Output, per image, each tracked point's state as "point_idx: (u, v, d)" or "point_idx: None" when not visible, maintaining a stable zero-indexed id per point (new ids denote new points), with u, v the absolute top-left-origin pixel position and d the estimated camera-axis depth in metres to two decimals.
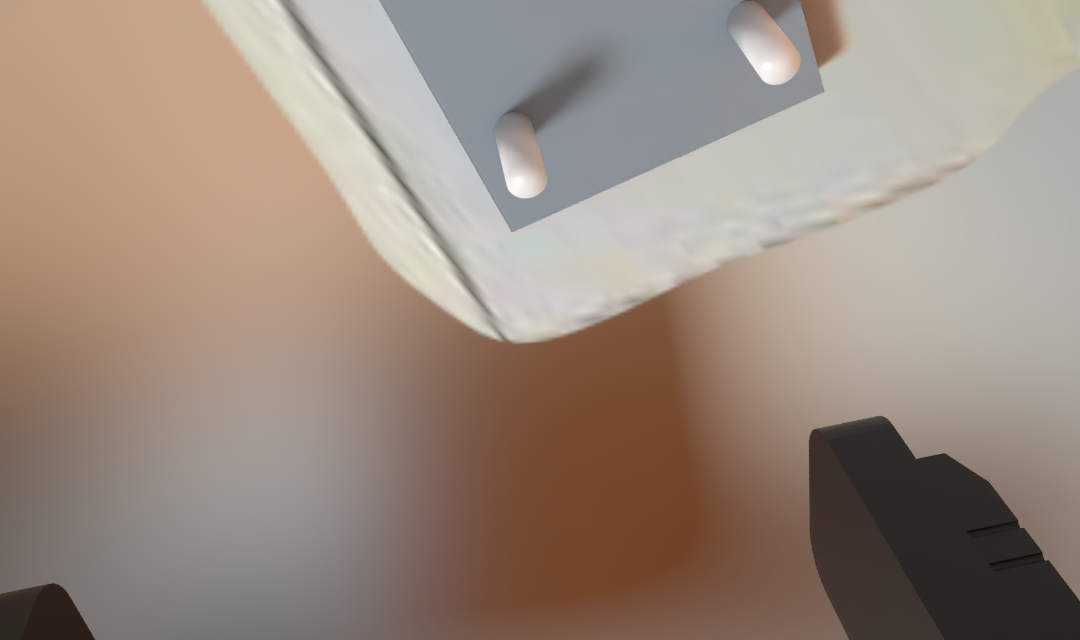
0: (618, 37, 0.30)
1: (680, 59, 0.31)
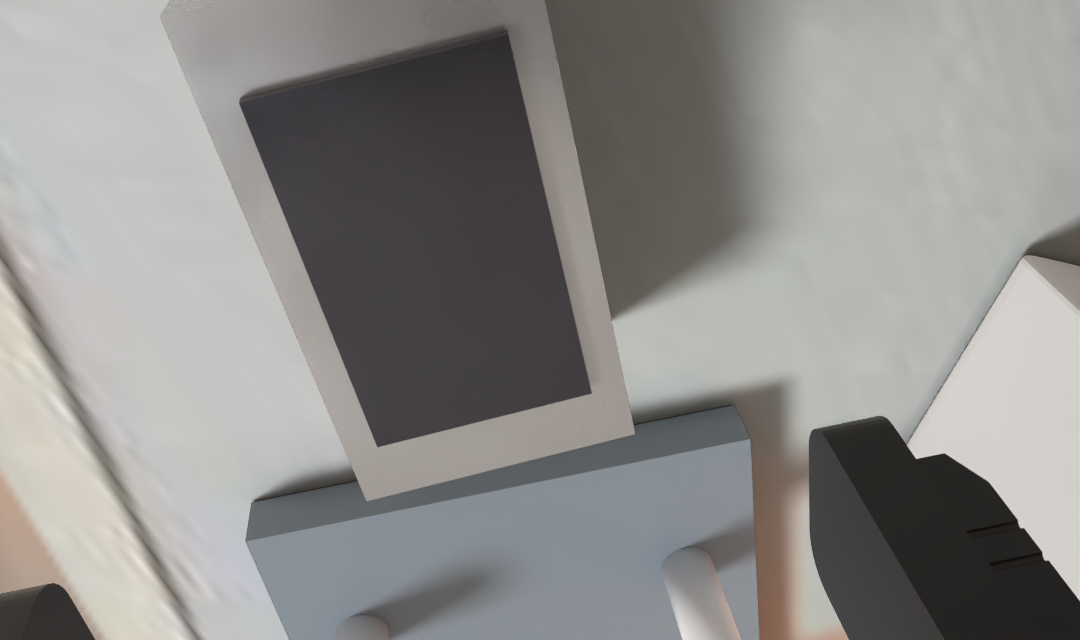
0: None
1: None
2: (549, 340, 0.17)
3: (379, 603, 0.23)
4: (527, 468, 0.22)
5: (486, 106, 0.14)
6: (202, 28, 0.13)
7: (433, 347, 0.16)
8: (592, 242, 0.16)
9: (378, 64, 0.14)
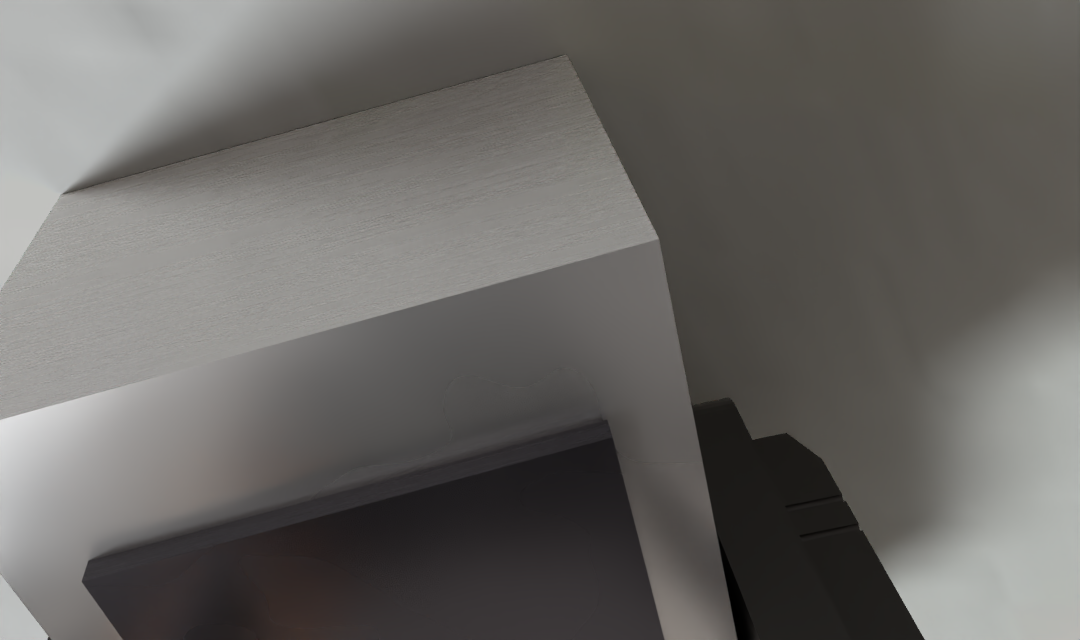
0: None
1: None
2: None
3: None
4: None
5: (566, 550, 0.07)
6: None
7: None
8: None
9: (354, 492, 0.07)
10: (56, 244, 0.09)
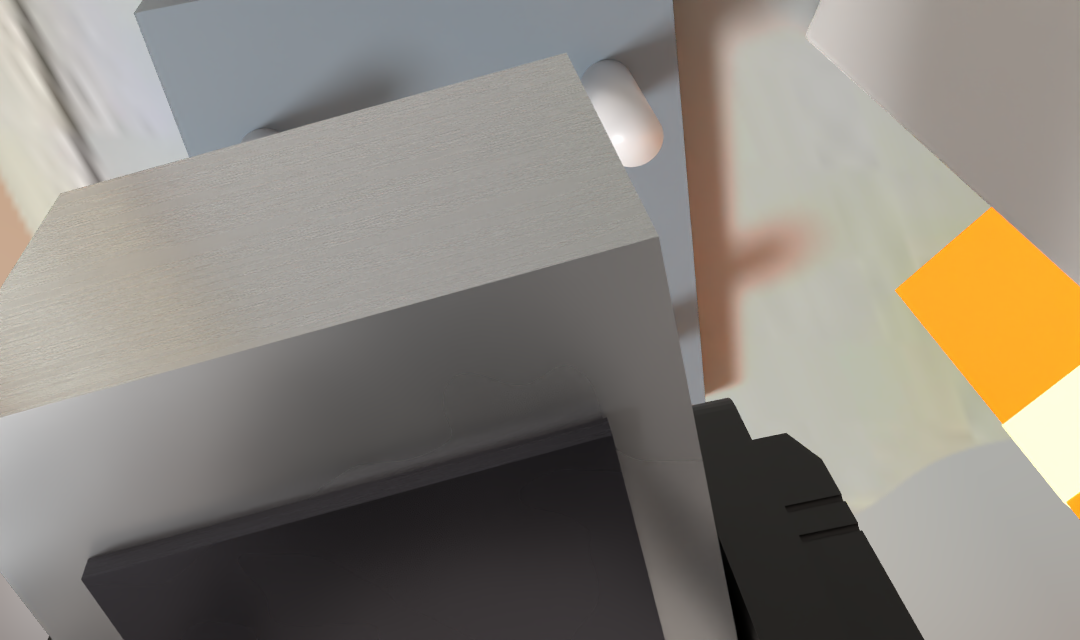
0: None
1: None
2: None
3: (282, 113, 0.22)
4: None
5: (566, 548, 0.07)
6: None
7: None
8: None
9: (354, 491, 0.07)
10: (56, 242, 0.09)
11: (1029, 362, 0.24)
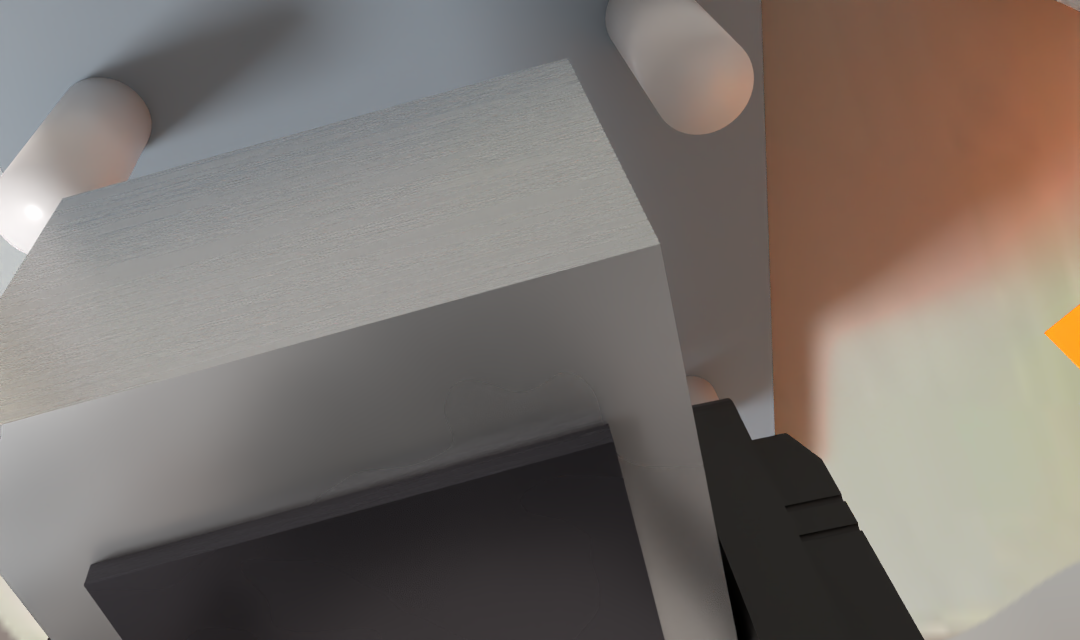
0: None
1: None
2: None
3: (126, 53, 0.14)
4: None
5: (567, 553, 0.07)
6: None
7: None
8: None
9: (356, 496, 0.07)
10: (58, 247, 0.09)
11: None
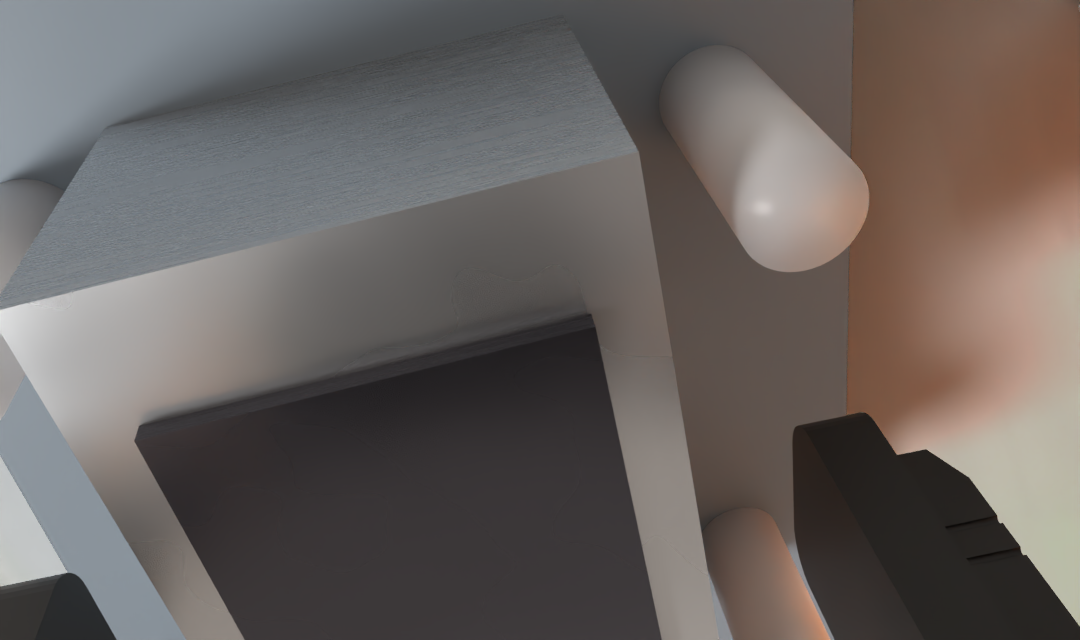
0: None
1: None
2: None
3: (58, 149, 0.11)
4: None
5: (553, 430, 0.09)
6: (66, 327, 0.08)
7: None
8: (707, 594, 0.10)
9: (372, 371, 0.08)
10: (106, 164, 0.10)
11: None
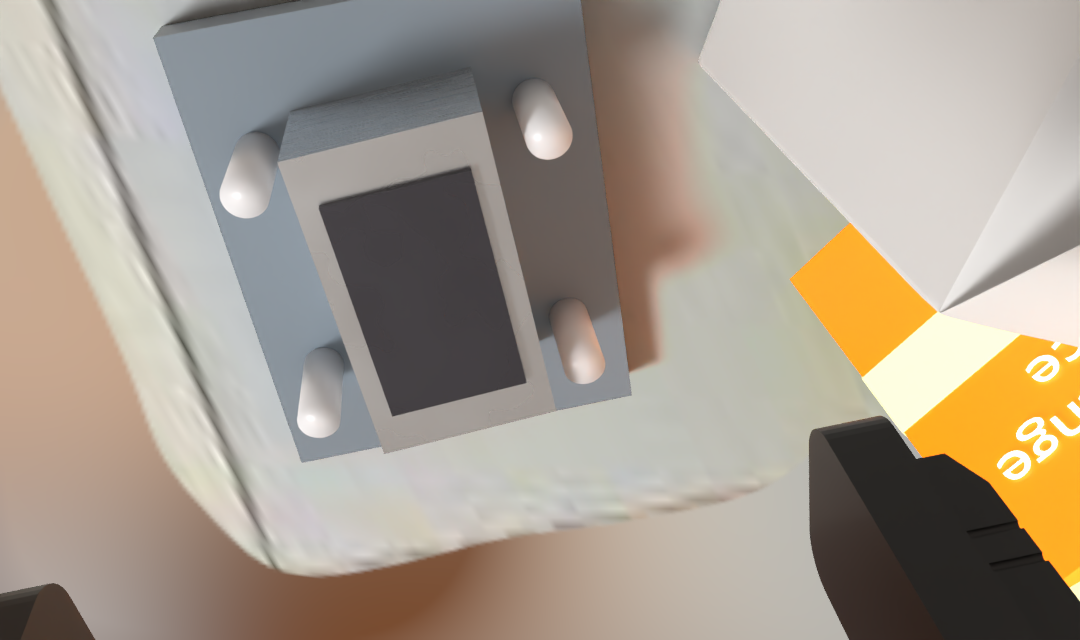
0: None
1: None
2: (499, 348, 0.27)
3: (270, 120, 0.27)
4: None
5: (459, 210, 0.25)
6: (300, 168, 0.24)
7: (427, 352, 0.27)
8: (524, 288, 0.27)
9: (397, 186, 0.25)
10: (296, 122, 0.26)
11: (886, 327, 0.29)
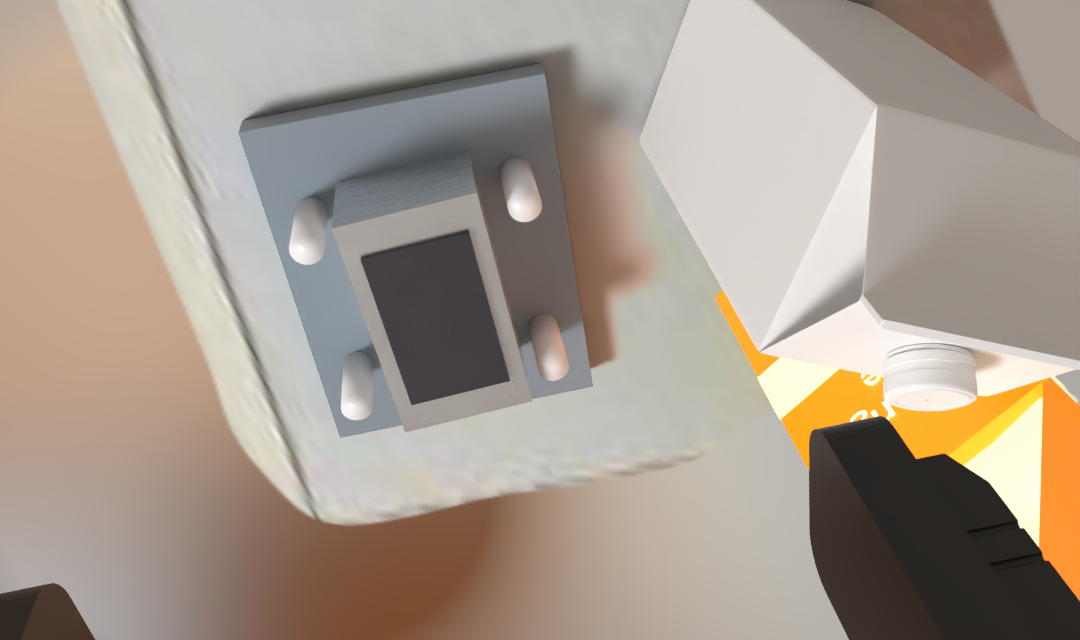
0: None
1: None
2: (489, 356, 0.37)
3: (321, 188, 0.37)
4: (411, 94, 0.36)
5: (460, 260, 0.35)
6: (347, 232, 0.34)
7: (437, 359, 0.37)
8: (507, 313, 0.37)
9: (416, 244, 0.35)
10: (342, 193, 0.36)
11: None
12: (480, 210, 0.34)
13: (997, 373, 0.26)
